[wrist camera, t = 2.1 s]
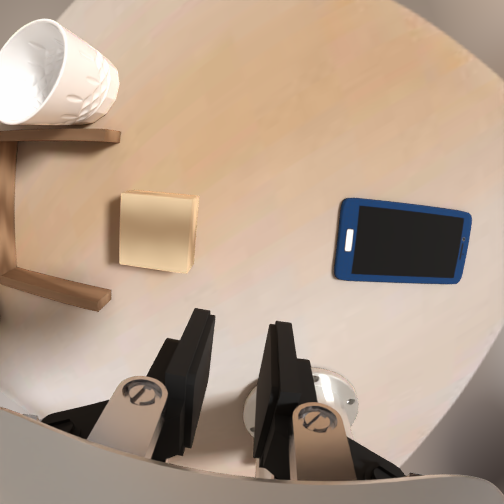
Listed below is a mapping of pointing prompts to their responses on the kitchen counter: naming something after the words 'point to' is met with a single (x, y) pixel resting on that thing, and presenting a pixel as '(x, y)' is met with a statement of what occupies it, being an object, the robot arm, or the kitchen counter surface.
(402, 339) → the kitchen counter surface
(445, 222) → the cell phone
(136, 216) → the tan square block
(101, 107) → the white cup
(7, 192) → the corral
